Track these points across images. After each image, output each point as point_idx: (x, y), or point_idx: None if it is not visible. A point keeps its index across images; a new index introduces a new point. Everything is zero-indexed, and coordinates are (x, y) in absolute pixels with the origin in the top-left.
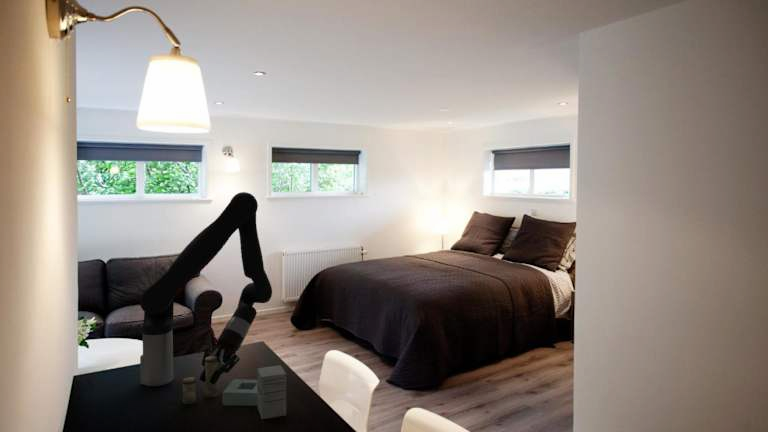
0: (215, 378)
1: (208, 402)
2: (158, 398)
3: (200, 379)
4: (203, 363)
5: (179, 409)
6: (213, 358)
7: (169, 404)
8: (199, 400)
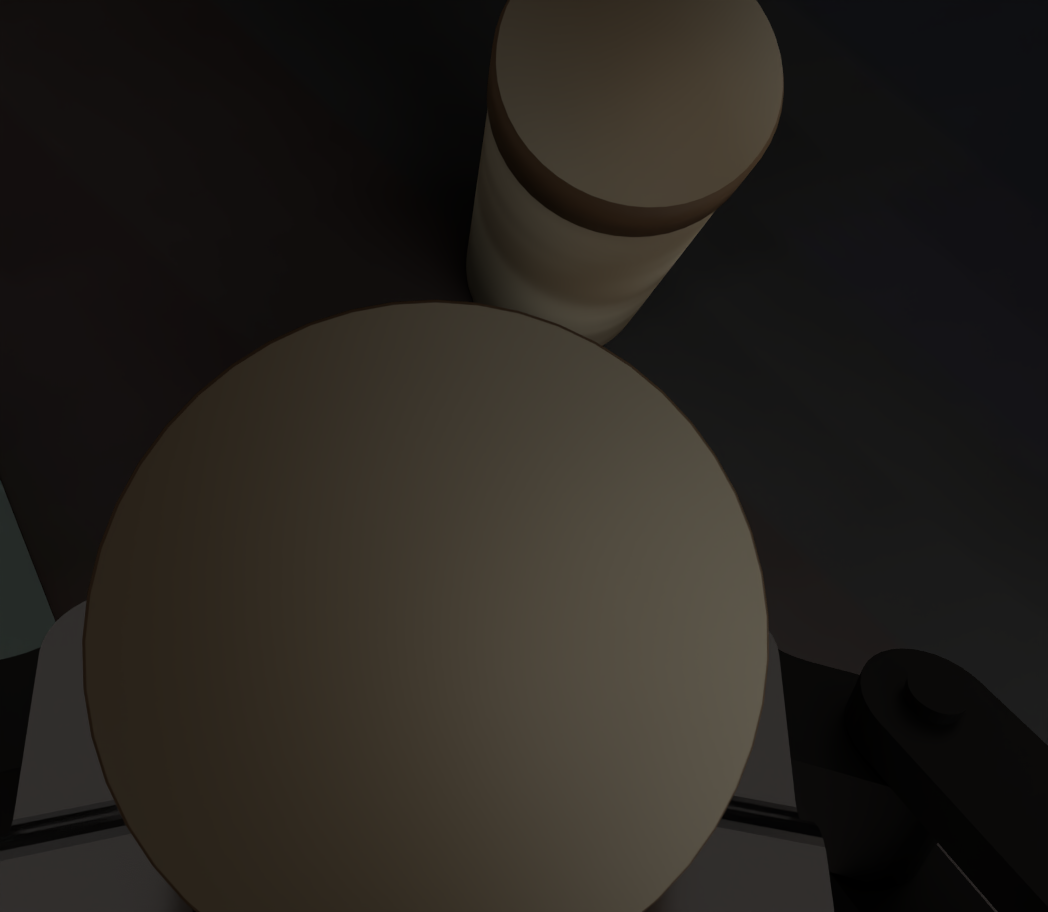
0: None
1: None
2: (1026, 174)
3: None
4: (902, 692)
5: (484, 31)
6: (272, 638)
7: None
8: None
